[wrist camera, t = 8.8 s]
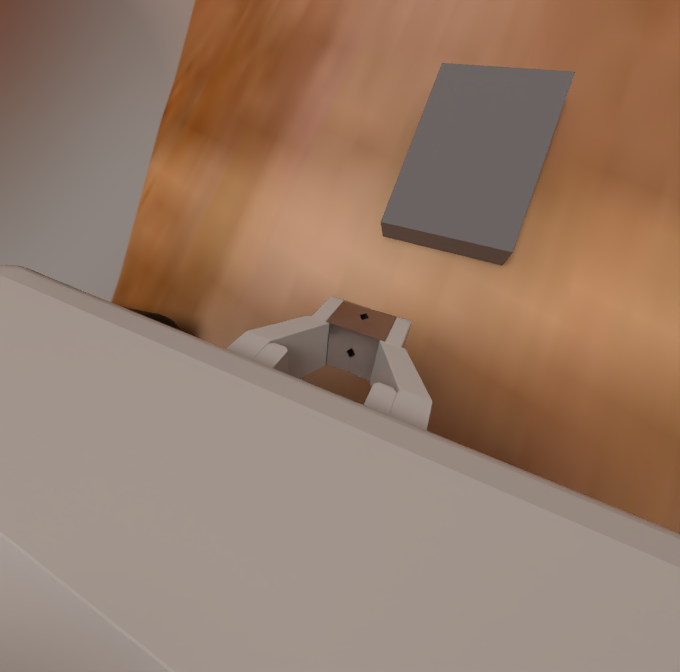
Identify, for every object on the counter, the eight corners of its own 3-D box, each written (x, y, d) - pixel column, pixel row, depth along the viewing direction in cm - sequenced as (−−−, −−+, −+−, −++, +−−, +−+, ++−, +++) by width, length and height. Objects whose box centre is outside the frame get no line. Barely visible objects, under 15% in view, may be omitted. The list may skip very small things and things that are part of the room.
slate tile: (512, 252, 16) (574, 71, 17) (380, 221, 18) (442, 63, 19) (500, 267, 18) (555, 106, 19) (383, 239, 20) (438, 95, 21)
